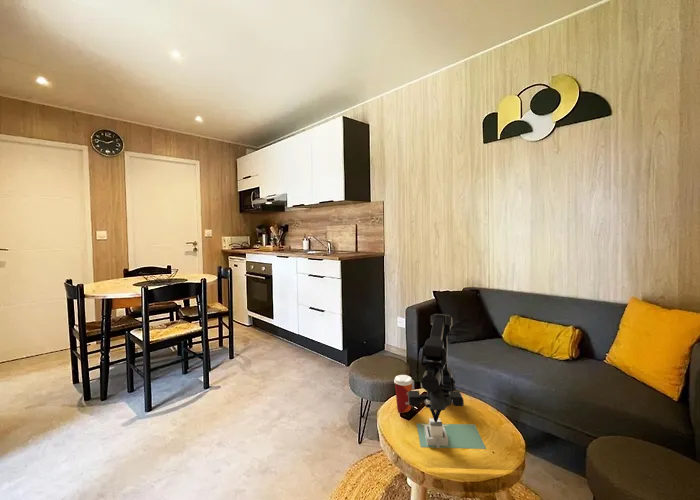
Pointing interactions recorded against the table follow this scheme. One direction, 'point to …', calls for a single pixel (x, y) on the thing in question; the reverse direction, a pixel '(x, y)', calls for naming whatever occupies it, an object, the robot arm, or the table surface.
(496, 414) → the table surface
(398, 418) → the table surface
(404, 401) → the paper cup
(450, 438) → the board
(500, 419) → the table surface
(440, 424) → the plug
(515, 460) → the table surface
